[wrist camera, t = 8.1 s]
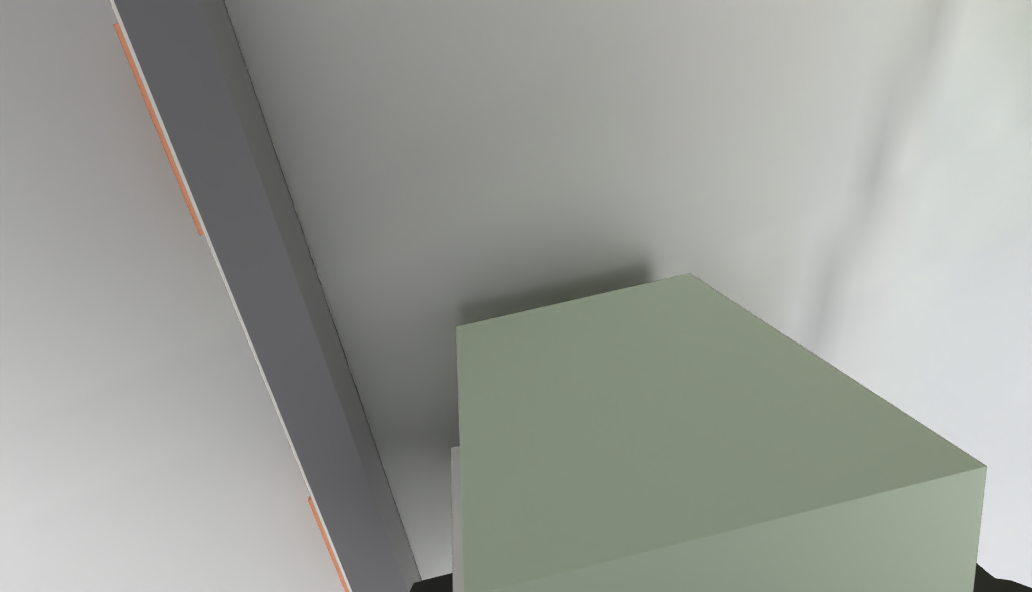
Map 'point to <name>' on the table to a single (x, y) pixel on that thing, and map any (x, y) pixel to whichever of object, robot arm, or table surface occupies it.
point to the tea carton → (694, 458)
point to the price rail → (267, 274)
